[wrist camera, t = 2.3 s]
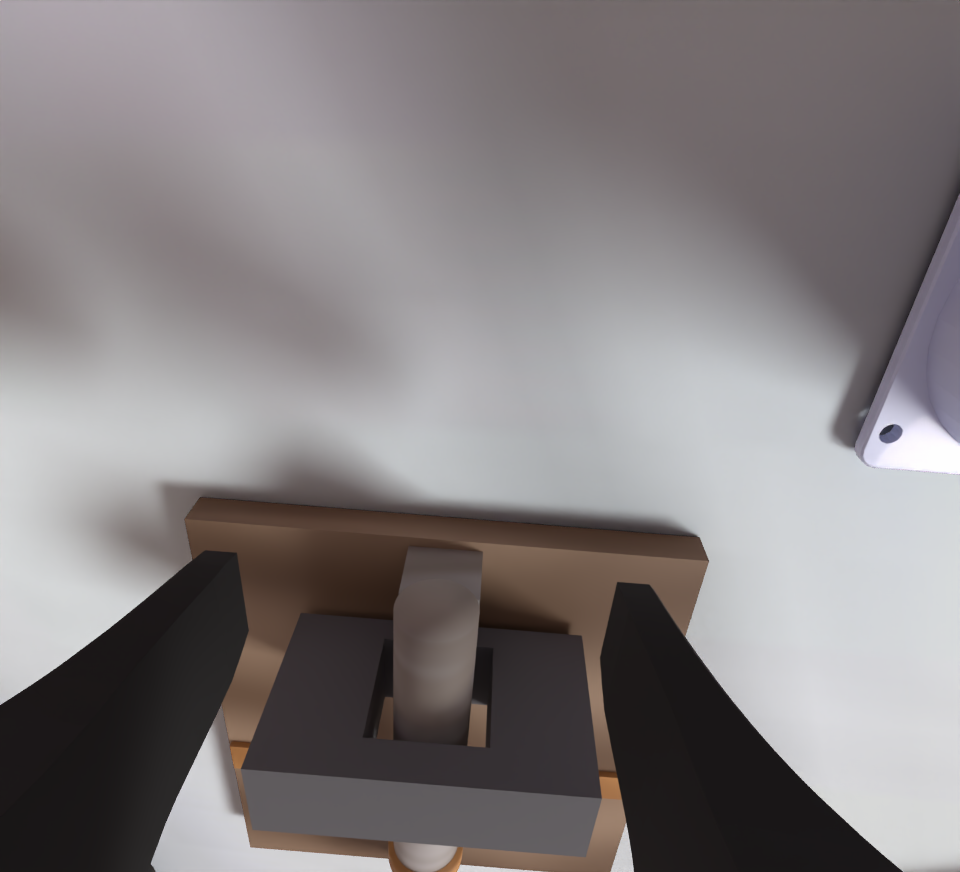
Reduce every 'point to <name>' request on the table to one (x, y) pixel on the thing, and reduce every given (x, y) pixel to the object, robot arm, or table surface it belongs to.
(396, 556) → the rod stand
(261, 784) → the collar
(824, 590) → the table surface
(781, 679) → the table surface
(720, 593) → the table surface
